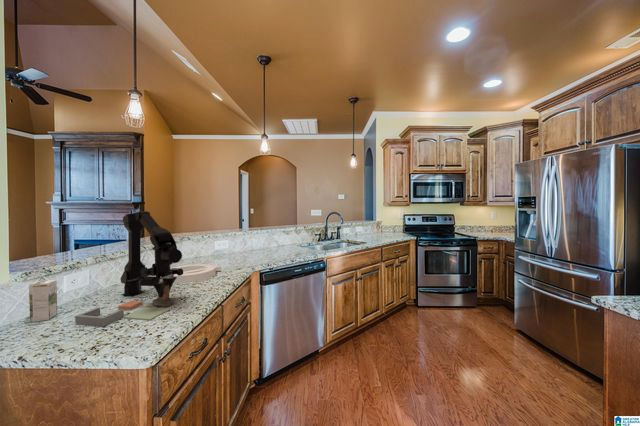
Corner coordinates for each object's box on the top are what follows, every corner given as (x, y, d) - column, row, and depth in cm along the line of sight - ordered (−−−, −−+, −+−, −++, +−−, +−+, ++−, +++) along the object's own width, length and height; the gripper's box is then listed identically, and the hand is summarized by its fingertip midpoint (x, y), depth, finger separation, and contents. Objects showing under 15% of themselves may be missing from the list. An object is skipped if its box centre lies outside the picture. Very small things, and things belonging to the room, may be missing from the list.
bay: (97, 314, 107) (97, 307, 106) (123, 317, 104) (123, 309, 104) (75, 324, 98) (75, 316, 98) (103, 326, 96) (103, 318, 96)
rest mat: (144, 308, 113) (144, 307, 113) (169, 309, 111) (169, 308, 111) (123, 318, 103) (123, 316, 103) (150, 320, 101) (150, 319, 101)
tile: (131, 305, 118) (131, 300, 118) (142, 306, 117) (142, 301, 116) (118, 310, 112) (118, 305, 112) (130, 311, 111) (130, 306, 111)
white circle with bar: (222, 271, 175) (222, 263, 175) (202, 284, 147) (202, 275, 147) (180, 271, 176) (180, 264, 176) (153, 284, 148) (152, 275, 148)
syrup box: (39, 316, 106) (37, 280, 105) (58, 314, 108) (56, 278, 107) (29, 322, 100) (27, 284, 100) (50, 320, 102) (48, 282, 102)
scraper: (159, 301, 120) (159, 284, 119) (175, 302, 118) (174, 284, 118) (152, 305, 116) (151, 286, 115) (168, 306, 114) (168, 287, 114)
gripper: (162, 255, 127) (163, 288, 127) (127, 264, 108) (129, 302, 109) (183, 256, 125) (184, 289, 125) (151, 265, 106) (152, 304, 107)
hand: (163, 295), depth 117 cm, fingers closed on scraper, 3 cm apart
